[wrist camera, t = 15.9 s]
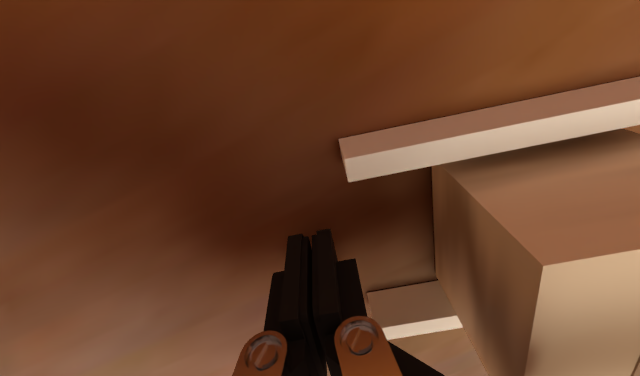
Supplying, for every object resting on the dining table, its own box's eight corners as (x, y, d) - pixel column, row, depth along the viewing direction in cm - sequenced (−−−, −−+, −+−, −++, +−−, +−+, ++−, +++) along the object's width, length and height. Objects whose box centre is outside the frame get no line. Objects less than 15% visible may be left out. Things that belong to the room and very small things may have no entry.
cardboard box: (431, 154, 11) (545, 266, 6) (599, 120, 11) (889, 205, 5) (435, 276, 14) (516, 429, 9) (570, 252, 14) (743, 396, 8)
